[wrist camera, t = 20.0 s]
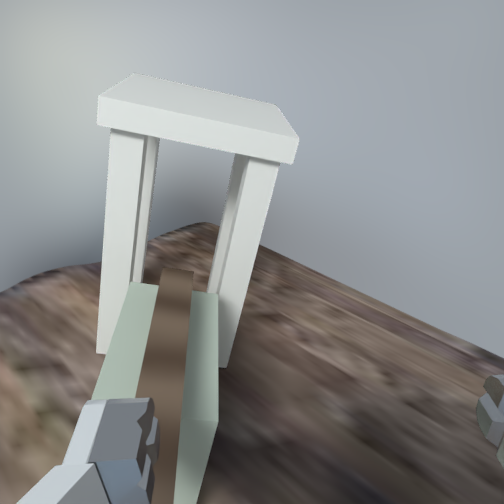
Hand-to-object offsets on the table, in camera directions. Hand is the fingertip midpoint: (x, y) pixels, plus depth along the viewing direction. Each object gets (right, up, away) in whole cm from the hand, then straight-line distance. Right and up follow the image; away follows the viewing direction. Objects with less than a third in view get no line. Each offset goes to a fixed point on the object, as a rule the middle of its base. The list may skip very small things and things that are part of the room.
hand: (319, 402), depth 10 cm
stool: (-13, -6, +49) cm, 51 cm away
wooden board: (-9, -6, +21) cm, 24 cm away
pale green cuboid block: (-12, -15, +32) cm, 37 cm away
